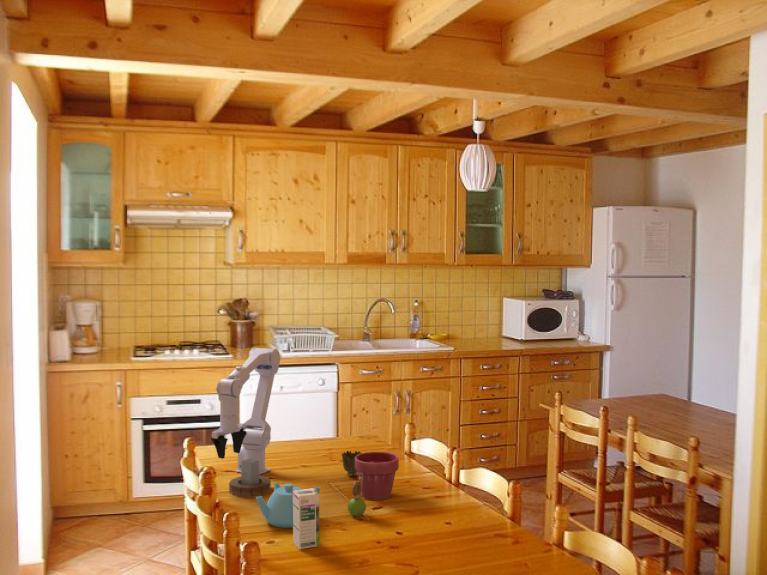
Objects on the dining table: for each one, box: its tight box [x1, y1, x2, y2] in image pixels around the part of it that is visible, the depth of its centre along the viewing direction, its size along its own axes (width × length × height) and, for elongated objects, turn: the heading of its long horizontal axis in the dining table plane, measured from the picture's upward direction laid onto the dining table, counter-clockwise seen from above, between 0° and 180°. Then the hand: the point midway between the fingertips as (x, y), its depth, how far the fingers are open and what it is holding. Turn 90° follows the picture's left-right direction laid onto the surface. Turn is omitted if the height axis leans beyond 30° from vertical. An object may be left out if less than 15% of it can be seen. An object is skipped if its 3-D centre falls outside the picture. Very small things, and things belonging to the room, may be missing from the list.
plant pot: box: [355, 451, 400, 501], centre depth 242 cm, size 14×14×13 cm
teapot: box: [255, 483, 321, 529], centre depth 220 cm, size 15×15×11 cm
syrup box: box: [292, 487, 320, 550], centre depth 202 cm, size 6×6×14 cm
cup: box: [341, 450, 362, 478], centre depth 264 cm, size 8×7×8 cm
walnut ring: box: [228, 475, 272, 498], centre depth 247 cm, size 13×13×3 cm
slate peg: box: [240, 458, 260, 485], centre depth 247 cm, size 4×4×10 cm
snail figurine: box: [347, 473, 367, 517], centre depth 225 cm, size 5×6×12 cm
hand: (229, 455), depth 251 cm, fingers open, 7 cm apart
